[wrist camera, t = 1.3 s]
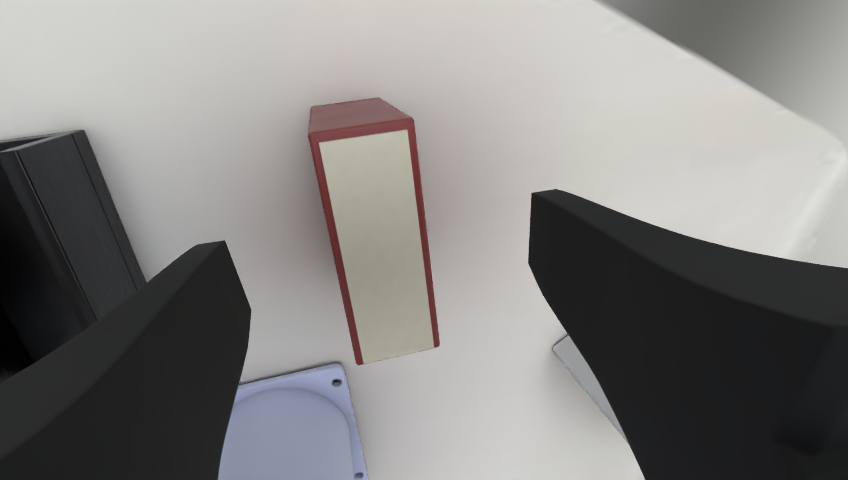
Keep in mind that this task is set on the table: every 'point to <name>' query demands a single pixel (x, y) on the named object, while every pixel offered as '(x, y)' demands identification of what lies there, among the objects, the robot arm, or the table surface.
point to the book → (376, 225)
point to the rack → (56, 247)
